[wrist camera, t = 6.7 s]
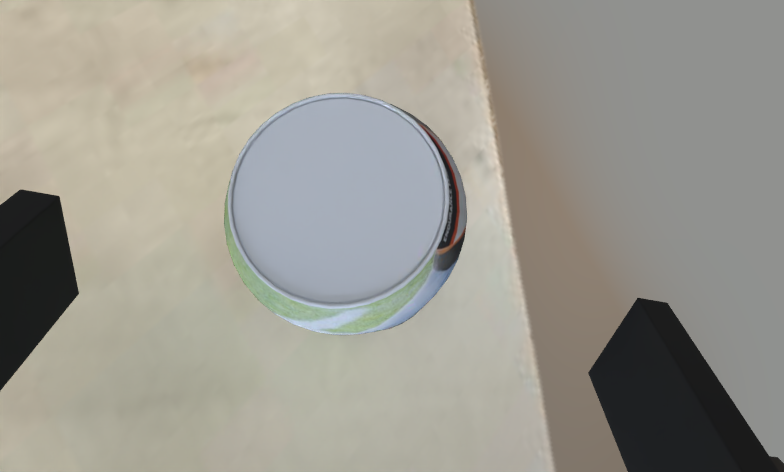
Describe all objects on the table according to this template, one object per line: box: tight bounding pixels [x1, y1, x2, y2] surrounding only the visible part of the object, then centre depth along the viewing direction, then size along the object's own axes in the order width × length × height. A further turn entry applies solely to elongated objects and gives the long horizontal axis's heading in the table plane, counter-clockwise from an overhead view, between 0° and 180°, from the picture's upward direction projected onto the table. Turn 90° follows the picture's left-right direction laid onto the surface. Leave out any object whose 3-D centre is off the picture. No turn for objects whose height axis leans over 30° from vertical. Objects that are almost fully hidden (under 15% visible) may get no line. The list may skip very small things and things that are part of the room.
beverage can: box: [224, 93, 467, 335], centre depth 16 cm, size 6×7×12 cm
